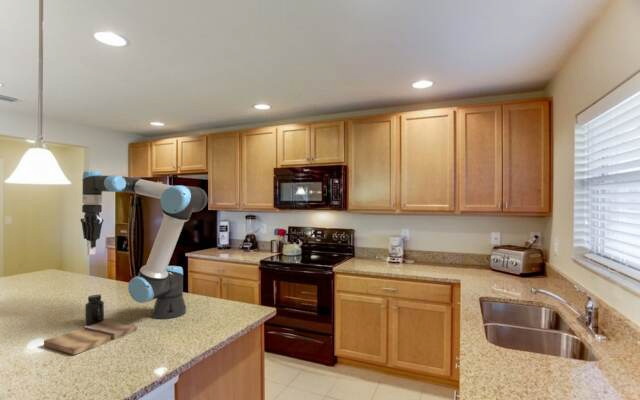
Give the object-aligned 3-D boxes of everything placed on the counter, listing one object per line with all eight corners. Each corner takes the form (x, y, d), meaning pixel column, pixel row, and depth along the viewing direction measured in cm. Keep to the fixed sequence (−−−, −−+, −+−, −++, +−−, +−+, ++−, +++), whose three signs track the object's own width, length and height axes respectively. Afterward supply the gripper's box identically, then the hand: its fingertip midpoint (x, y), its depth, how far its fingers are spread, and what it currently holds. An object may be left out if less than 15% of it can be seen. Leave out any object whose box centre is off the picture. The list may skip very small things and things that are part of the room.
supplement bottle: (102, 318, 150) (102, 292, 150) (105, 322, 145) (105, 296, 145) (83, 322, 145) (84, 295, 145) (86, 326, 140) (87, 299, 140)
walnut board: (107, 324, 143) (107, 318, 143) (136, 330, 137) (136, 324, 137) (84, 332, 134) (84, 326, 134) (114, 339, 128) (114, 333, 128)
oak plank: (81, 333, 133) (81, 328, 133) (110, 340, 126) (110, 335, 126) (43, 346, 121) (43, 340, 121) (74, 354, 114) (74, 349, 114)
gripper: (74, 204, 151) (73, 254, 151) (93, 204, 146) (92, 256, 146) (91, 203, 158) (90, 252, 158) (109, 204, 153) (108, 254, 153)
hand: (91, 254), depth 152 cm, fingers closed
